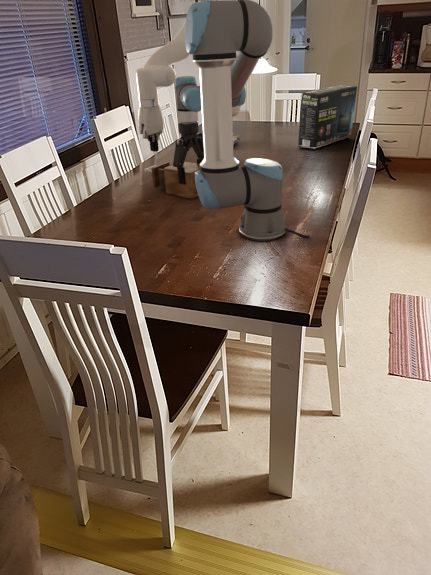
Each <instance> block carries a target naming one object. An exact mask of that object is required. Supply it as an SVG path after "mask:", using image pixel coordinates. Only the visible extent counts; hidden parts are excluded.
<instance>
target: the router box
mask: <svg viewBox="0 0 431 575" xmlns="http://www.w3.org/2000/svg"><path fill="white" fill-rule="evenodd" d="M357 93H358V86H356V85H350V84H339V85H338V84H337V85H334V86H328V87H324V88H318V89H314V90H309V91H304V92H301V93H300V109H299V110H300V111H299V124H298V137H297V146H298V145H302V146H307V147H317V146H320V145H323V144H325V143H328V142H331V141H333V140H336V139H338V138H341V137H344V136H347V135H351V136H352V133H353V132H352V131H353V125H354V115H355V109H356V99H357ZM311 151H313V150H312V149H311Z"/></svg>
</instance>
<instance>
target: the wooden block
mask: <svg viewBox="0 0 431 575" xmlns="http://www.w3.org/2000/svg"><path fill="white" fill-rule="evenodd" d="M176 164H177V163H176ZM180 164H181V163H180ZM183 167H185V182H186V184H185V185H184V184H180V183H179V176H178V172H177V167H173V165H171V166H168V167H166V168H164V176H165V186H166V188H165V193H166V194H169V195H173V196H178V197H182V198H187V199H190V200H191V199H192V200H193V199H195V198H197V197H199V196H198V192H197V188H196V184H195V172H197V171H200V164H197V162H190V161H185V162H184V165H183Z"/></svg>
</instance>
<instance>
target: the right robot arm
mask: <svg viewBox="0 0 431 575" xmlns="http://www.w3.org/2000/svg"><path fill="white" fill-rule="evenodd" d="M185 17H186V18H185V21H186V24H185V44H186V51H187V53H188V54H190V55H189V56H192V62H193V63H194V64H195V65H196V66H197V67H198V72H199V85H198V84H197V78H196V77H195V76H194V75H193V76H191V75H184V76H176V79H175V82H174V83H175V84H174V85H175V86H174V89H175V96H176V97H175V99H176V112H177V122H178V124H177V125H178V126H177V127H178V134H180V139H175V141H174V144H175V147H174V148H175V149H174V153H173V154H174V156H173V161H172V164H173V167H177V172H178V176H179V183H180V184H184V185H185V184H186V182H185V167H183V165H184V162H186V158H187V156H188V152H189V151H190V149H193V151H194V153H195V155H196V157H197V158H196V164H200V171H197V172H195V184H196V188H197V192H198V196H197V197H198V198H199V201H200V204H201V205H202V207H203V208H204V209H206V210H220V209H226V208H233V207H239V206H244V211H243V213H242V215H241V217H240V222H239V226H238V232H239V235H240V236H241V237H242V238H244V239H247V240H250V241H254V242H271V241H277V240H279V239H281V238H283V237H285V235H286V234H287V232H288V233H290V234H293V235H296V236H297V237H298V236H299V237H301V238H306V239H310V235H309V234H308V235H307V234H302V233H300V232H297V231H296V230H292V229H289V228H287V223H286V221H285V216H284V214H283V210H282V200H283V183H284V175H283V173H284V172H283V171H284V170H283V166H282V164H280V163H279V162H278V161H275V160H272V159H268V158H259V157H252V158H251V157H250V158H247V159H245V160H244V163H243V165H240V161H239V160H238V159H237V158H236V156H234V155H235V154H234V145H233V133H234V122H233V117H232V107H236V106H241V107H242V106H243V105H244V104H245V102H246V98H247V90H246V85H247V83H248V82H249V80H250V77H251V76H252V74H253V72H254V70H255V69H256V66H257V64H258V62H259V60H260V59H261V58H263V57H264V56H265V55H266V54H268V51H269V49H270V47H271V46H272V43H273V37H274V26H273V22H272V19H271V17H270V15H269V14H268V12H267V10H266V9H265V8H264V7H263V6H262V4H261V5H260V4H259V3H258V2H256V1H254V0H203V1H194V2H192V3H191V4H190V6H189V8H188V9H187V13H186V16H185ZM199 112H201V122H202V132H200V129H199V122H198V121H199ZM176 163H177V164H176ZM180 163H181V164H180Z"/></svg>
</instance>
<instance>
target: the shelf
mask: <svg viewBox="0 0 431 575" xmlns="http://www.w3.org/2000/svg"><path fill="white" fill-rule="evenodd" d="M171 165H173V163H170V161H165V162H162V163H161V164H158V165H156V164H154V165H151V166H149V167H146V168H144V170H143V172H144V173H145V174H146V173H151V177H152V186H153V188H154V189H157V188H159V187H160V188H164V189H166V186H165V176H164V168H166V167H168V166H171Z"/></svg>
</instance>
